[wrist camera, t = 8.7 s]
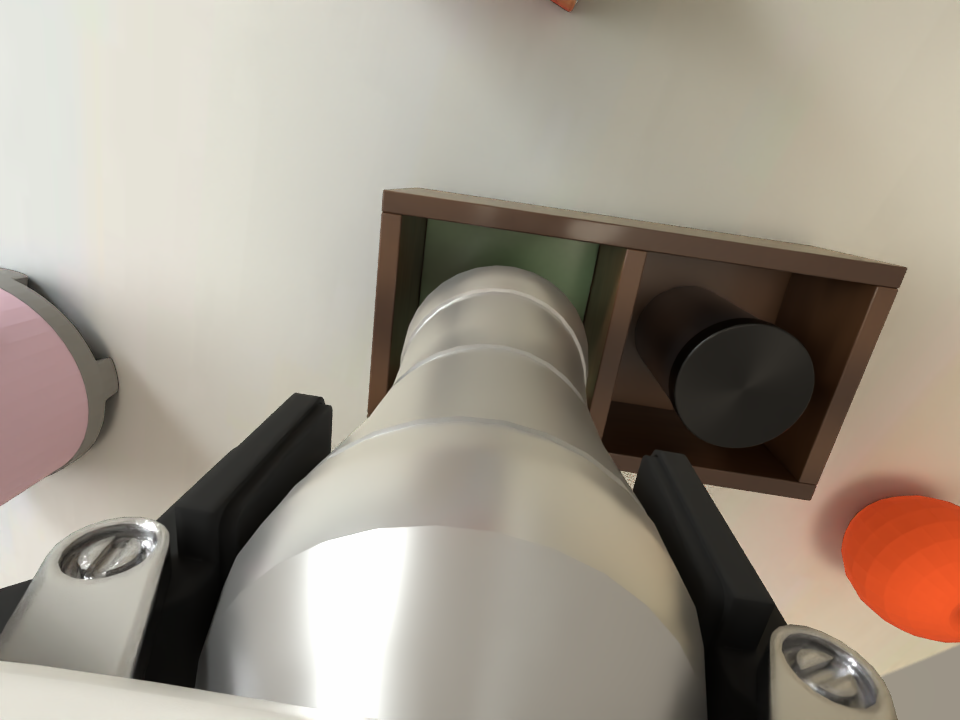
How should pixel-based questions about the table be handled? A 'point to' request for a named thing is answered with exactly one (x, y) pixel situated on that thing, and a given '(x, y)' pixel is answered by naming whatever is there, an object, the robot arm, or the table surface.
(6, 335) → the blender
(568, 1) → the cracker box
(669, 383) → the spice tin
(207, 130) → the table surface
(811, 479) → the brown wooden divided box
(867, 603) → the clementine
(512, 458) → the silver metal bottle
